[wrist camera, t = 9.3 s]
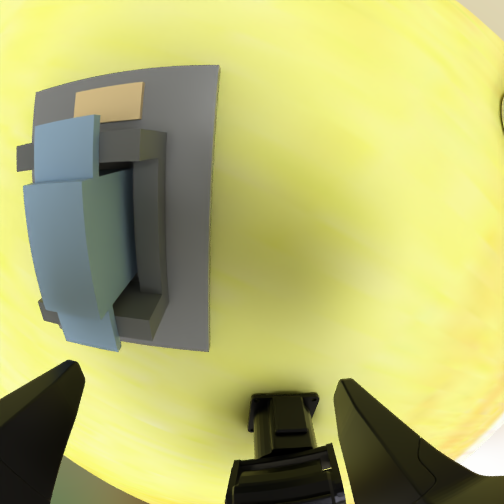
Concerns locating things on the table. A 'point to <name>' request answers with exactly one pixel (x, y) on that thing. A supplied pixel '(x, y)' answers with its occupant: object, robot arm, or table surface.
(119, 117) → the chassis plate
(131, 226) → the block
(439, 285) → the table surface
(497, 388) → the table surface
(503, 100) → the supplement bottle
